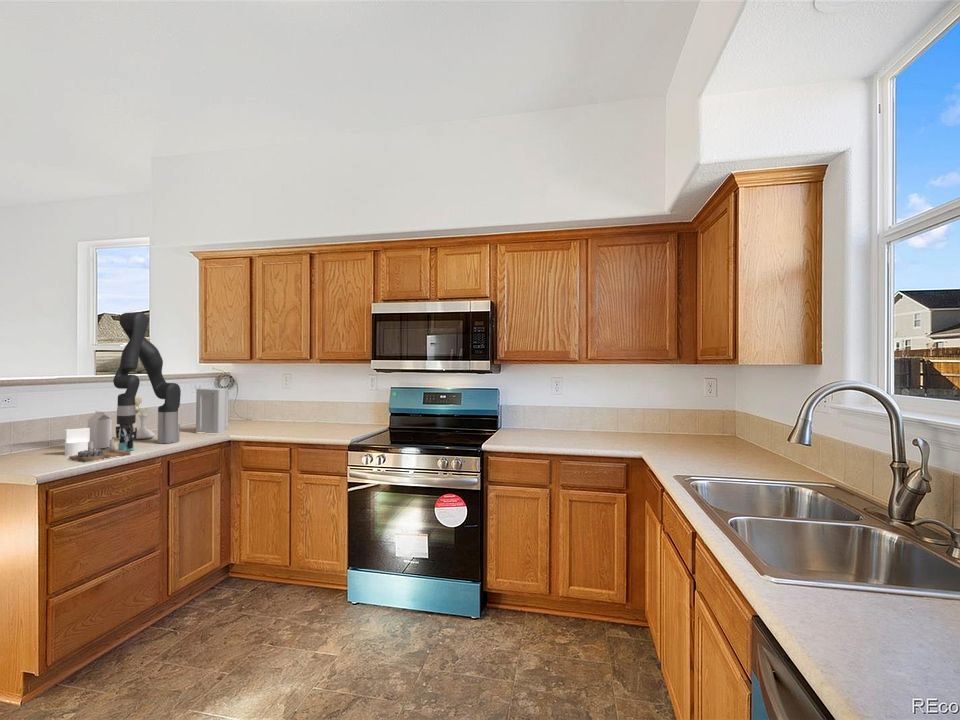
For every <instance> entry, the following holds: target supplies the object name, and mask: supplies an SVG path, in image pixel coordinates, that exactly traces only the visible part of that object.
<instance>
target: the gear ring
mask: <svg viewBox="0 0 960 720" xmlns="http://www.w3.org/2000/svg"><path fill="white" fill-rule="evenodd" d="M134 443H135V442H134V441H133V448H127V441H125V442H122V443H119V442H118V445H117V446H118V449H117V450H121V451H128V452H130V451H133V450H134V449H135V445H134Z"/></svg>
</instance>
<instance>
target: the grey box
mask: <svg viewBox="0 0 960 720" xmlns="http://www.w3.org/2000/svg"><path fill="white" fill-rule="evenodd" d="M229 390H230V389H229V388H228V387H227V388H226V387H225V388H224V387H220V388H217V387H216V388H215V387H214V388H196V395H195V396H196V401H195V402H196V403H195V406H196V407H195V410H196V411H195V433H196V432H205V433H222V432H225V431H226V430H227V429H228V430H229V398H230V397H229V395H230V393H229V392H230V391H229Z"/></svg>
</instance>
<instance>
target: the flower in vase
mask: <svg viewBox="0 0 960 720" xmlns="http://www.w3.org/2000/svg"><path fill="white" fill-rule="evenodd" d="M142 401H143V397H140V396H137V395H136V396H135V408H136V407H137V408H138V409H136V414H138V413H139V412H140V414H139V415H137V416H138V418H139V420H140V427H139V429H137V435H136V439H135V440H146V439H147V440H148V439H151V438H154V437H155V436H156V434H155V433H154V431H152V430H150V429H149V428H147V426H146V424H147V423H146V422H147V418H148V417H149V414H144V413H147V412H148V408H145V409H143V410H141V409H140V407H139V406H140V405H141V404H142ZM133 437H134V435H133Z"/></svg>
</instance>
